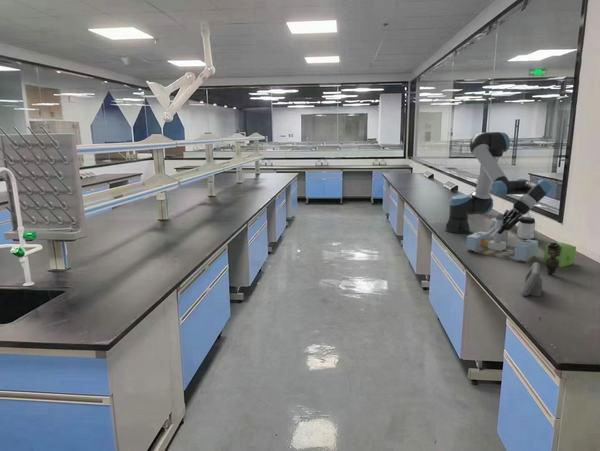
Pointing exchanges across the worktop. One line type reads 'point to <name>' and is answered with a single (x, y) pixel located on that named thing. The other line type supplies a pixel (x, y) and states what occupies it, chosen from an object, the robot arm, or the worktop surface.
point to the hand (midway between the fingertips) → (490, 236)
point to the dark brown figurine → (553, 257)
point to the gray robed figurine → (532, 282)
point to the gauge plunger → (484, 242)
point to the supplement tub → (504, 233)
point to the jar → (526, 228)
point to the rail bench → (500, 253)
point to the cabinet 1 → (476, 240)
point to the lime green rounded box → (563, 254)
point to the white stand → (497, 243)
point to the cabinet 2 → (526, 249)
